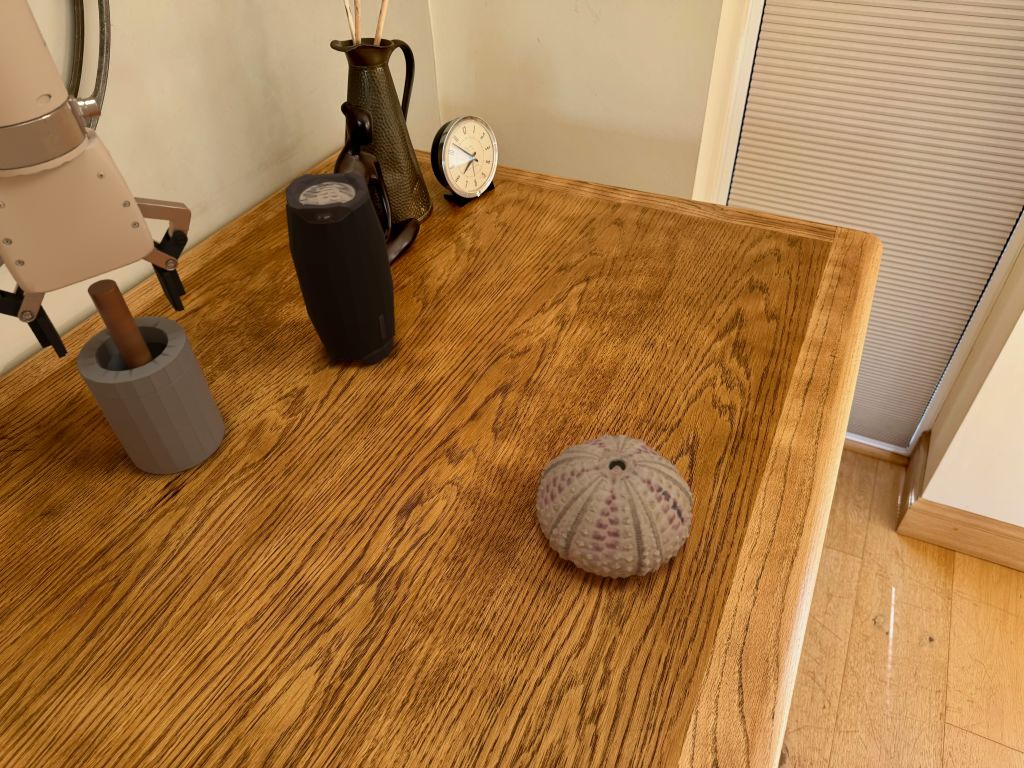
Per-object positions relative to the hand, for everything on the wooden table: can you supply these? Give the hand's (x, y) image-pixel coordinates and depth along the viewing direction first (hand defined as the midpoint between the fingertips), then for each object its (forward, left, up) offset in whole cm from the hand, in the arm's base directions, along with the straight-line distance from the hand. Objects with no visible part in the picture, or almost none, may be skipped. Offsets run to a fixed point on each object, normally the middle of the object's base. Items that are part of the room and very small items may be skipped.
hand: (119, 325), depth 62 cm
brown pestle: (0, 0, -14) cm, 14 cm away
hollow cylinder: (0, 0, -14) cm, 14 cm away
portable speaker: (+14, +16, -15) cm, 26 cm away
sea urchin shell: (+43, -5, -15) cm, 46 cm away
